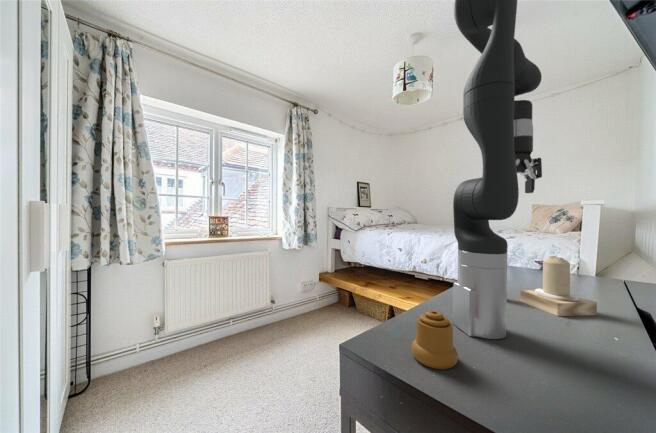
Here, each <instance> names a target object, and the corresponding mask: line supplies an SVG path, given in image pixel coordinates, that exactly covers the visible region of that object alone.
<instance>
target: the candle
mask: <svg viewBox="0 0 656 433" xmlns="http://www.w3.org/2000/svg"><path fill="white" fill-rule="evenodd" d="M542 288H543V291H544V292H545V293H548V294H553V295H559V296H569V295H570V293H571V263H570V262H569V261H568V260H566V259H564V257H558V256H556V255H552V256H551V255H549V256H548V257H547V258H545V259H544V260H543V261H542Z"/></svg>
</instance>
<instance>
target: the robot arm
mask: <svg viewBox="0 0 656 433" xmlns="http://www.w3.org/2000/svg"><path fill="white" fill-rule="evenodd" d="M453 1H454V2H453V16H454V21H455V24H456V26H457V29H458V30H459V32H460V33H461V34H462V36H463V37H464V38H465V39H466V40H467V41H468V42H469V44H471V45H472V46H473V47H474V48H475V49H476V51H478V52H479V53H480V54H481V55H480V57H479V58H478V59H477V62H476V63H475V65H474V66H473V68H472V70H471V72H470V74H469V76H468V77H467V79H466V82H465V84H464V88H463V97H462V98H463V106H462V107H463V109H462V110H463V111H462V112H463V115H462V116H463V121H464V124H465V126H466V128H467V130H468V131H469V133H470V135H471V136H472V137H473V140H475V142H476V143H477V145H478V147H479V149H480V152H481V157H482V158H481V160H482V175H481V177H478V178H472V179H466V180H464V181H462V182H461V183H460V184H458V185H457V187H456V189H455V192H454V195H453V201H452V202H453V203H452V208H453V209H452V211H453V212H452V213H453V231H454V236H455V240H456V242H457V281H455V282H454V283H453V285H452V286H453V288H452V289H453V292H452V293H453V294H452V295H453V296H452V297H453V298H452V301H453V302H452V303H453V304H452V324H453V325H454V326H455V327H456V328H458V329H460V330H461V331H462V332H463V333H465V334H466V335H468V337H477V338H481V339H482V338H483V339H487V340H500V339H504V338H505V337H506V336H507V312H508V311H507V306H508V305H507V304H508V303H507V301H508V300H507V299H508V298H507V296H508V295H507V294H508V292H507V290H508V249H509V248H508V241H507V239H505V238H504V237H502V236H500V235H499V234H497V233H496V232H494V231H493V229H492V228H491V227H490V226H491V225H490V224H489V223H490V221H503V220H508V219H509V218H511V217H512V215H514V213H515V212H516V210H517V207H518V205H519V194H520V192H519V190H520V189H519V179H518V174H520V175H521V176H523V178H524V179H525V182H524V194H533V193H534V191H535V186H536V184H535V183H536V182H535V181H536V180H537V179H541V178H542V177H543V170H542V169H543V168H542V164H543V163H542V158H541V157H535V158H532V156H531V155H532V152H534V125H533V102H532V101H530V100H528V99H519V100H515V97H517V96H521V95H524V94H527V93H528V94H529V93H531V92H534V91H535V90H536V89H537V88H538V87H539V86H540V84H541V82H542V71H541V70H540V68H539V66H537V64H535V63H534V62H532V61H531V60H529V58H527V57H526V54H525V53H524V50H523V46H522V45H521V43H520V42H519V41H518V40H517V39H516V38H515V34H516V33H515V32H516V24H517V23H516V21H517V11H518V0H453ZM491 26H492V27H491ZM489 27H491V28H489Z"/></svg>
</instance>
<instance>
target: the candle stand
mask: <svg viewBox="0 0 656 433" xmlns="http://www.w3.org/2000/svg"><path fill="white" fill-rule="evenodd" d="M519 299H520V302H522V303H524V304H526V305H528V306H532V307H533V308H536V309H538V310H541V311H543V312H546V313H548V314H552V315H554V316H557V317H567V316H568V317H570V316H573V317H574V316H575V317H577V316H578V317H579V316H597V314H598V313H597V312H598V302H596V301H592V300H591V299H590V300H589V299H586V298H584V297H580V296H579V295H577V294H576V293H573V292H570V295H569V296H559V295H553V294H548V293H545V292H544V291H543V287H542V288H539V287H538V288H535V289H533V290H532V289H530V290H529V289H527V290H525V289H524V290H523V289H522V290H520V298H519Z"/></svg>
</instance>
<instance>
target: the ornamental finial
mask: <svg viewBox="0 0 656 433" xmlns="http://www.w3.org/2000/svg"><path fill="white" fill-rule="evenodd" d="M453 325H454V324H453V322H451V321H450V319H449V318H448V317H447V316H445V315H444V314H443V313H442V312H440V311H439V310H434V309H433V310H431V309H430V310H427V311H426V312H424V313H421V314H420V315H419V316H418V317H417V318H416V330H415V331H416V333H415V339H414V340H413V341H412V343H411V352H412V355H413V357H414V358H415V359H416V361H417V362H419V363H420V364H422V365H423V366H426V367H428V368H431V369H436V370H448V369H452V368H453V367H455V366H456V364H457V363H458V361H459V354H458V351H457V349H456V347H455V346H454V332H453V331H454V327H453Z"/></svg>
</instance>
